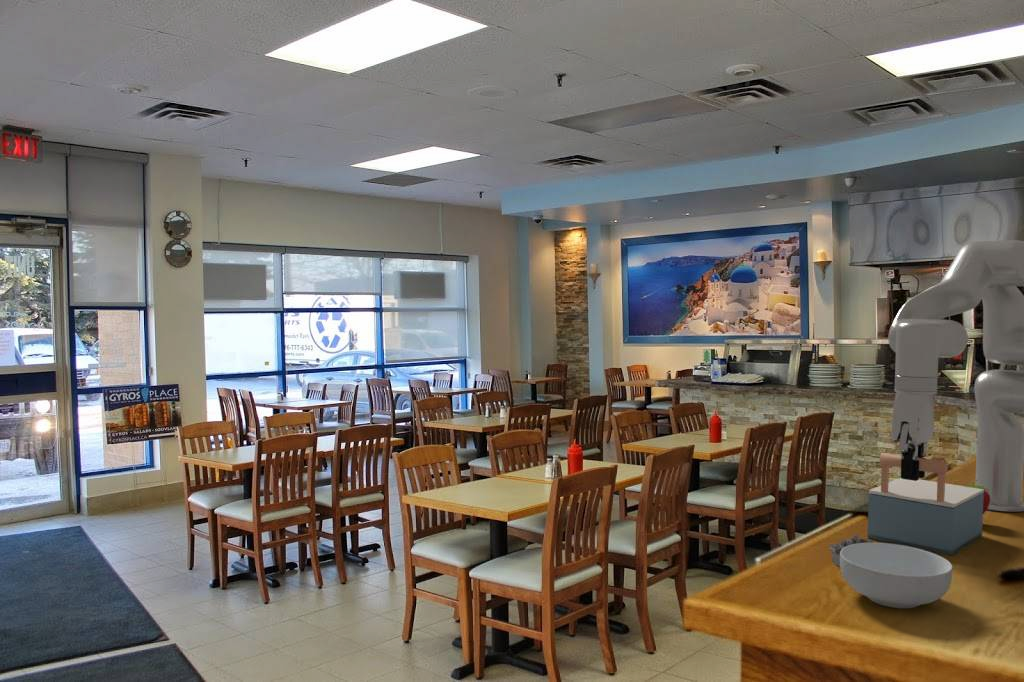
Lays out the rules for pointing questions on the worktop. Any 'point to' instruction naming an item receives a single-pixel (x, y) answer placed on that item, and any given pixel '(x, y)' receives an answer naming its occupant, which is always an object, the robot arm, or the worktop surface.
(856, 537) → the egg carton
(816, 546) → the worktop surface
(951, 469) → the worktop surface
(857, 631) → the worktop surface
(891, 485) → the flap
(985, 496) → the strawberry
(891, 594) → the cereal bowl
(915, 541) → the carton
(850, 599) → the worktop surface
